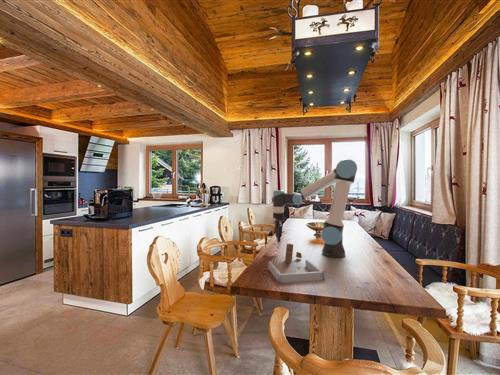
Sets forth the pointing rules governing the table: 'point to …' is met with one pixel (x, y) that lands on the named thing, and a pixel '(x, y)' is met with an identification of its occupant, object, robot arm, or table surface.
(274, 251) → the table surface
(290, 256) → the wooden block set
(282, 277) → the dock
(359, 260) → the table surface
